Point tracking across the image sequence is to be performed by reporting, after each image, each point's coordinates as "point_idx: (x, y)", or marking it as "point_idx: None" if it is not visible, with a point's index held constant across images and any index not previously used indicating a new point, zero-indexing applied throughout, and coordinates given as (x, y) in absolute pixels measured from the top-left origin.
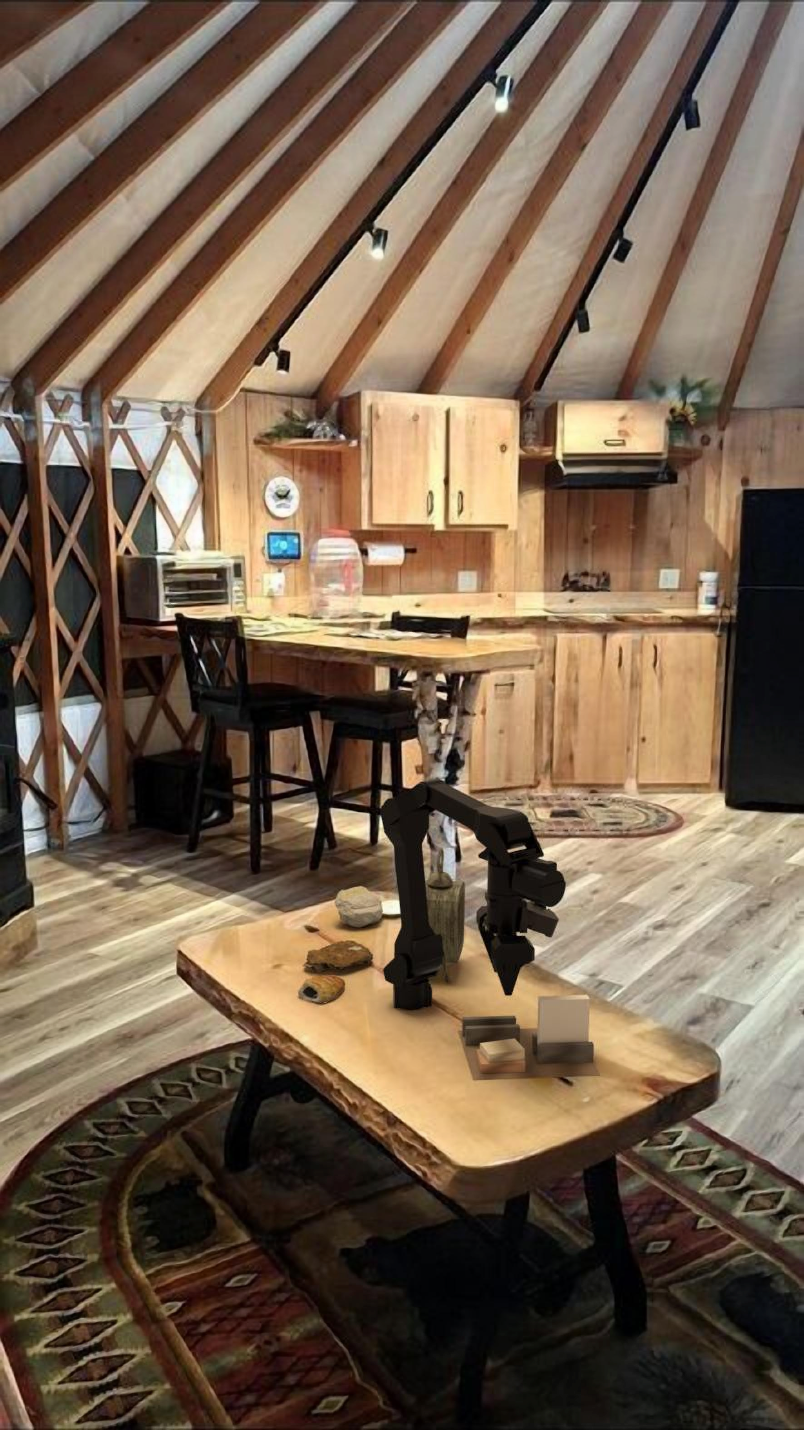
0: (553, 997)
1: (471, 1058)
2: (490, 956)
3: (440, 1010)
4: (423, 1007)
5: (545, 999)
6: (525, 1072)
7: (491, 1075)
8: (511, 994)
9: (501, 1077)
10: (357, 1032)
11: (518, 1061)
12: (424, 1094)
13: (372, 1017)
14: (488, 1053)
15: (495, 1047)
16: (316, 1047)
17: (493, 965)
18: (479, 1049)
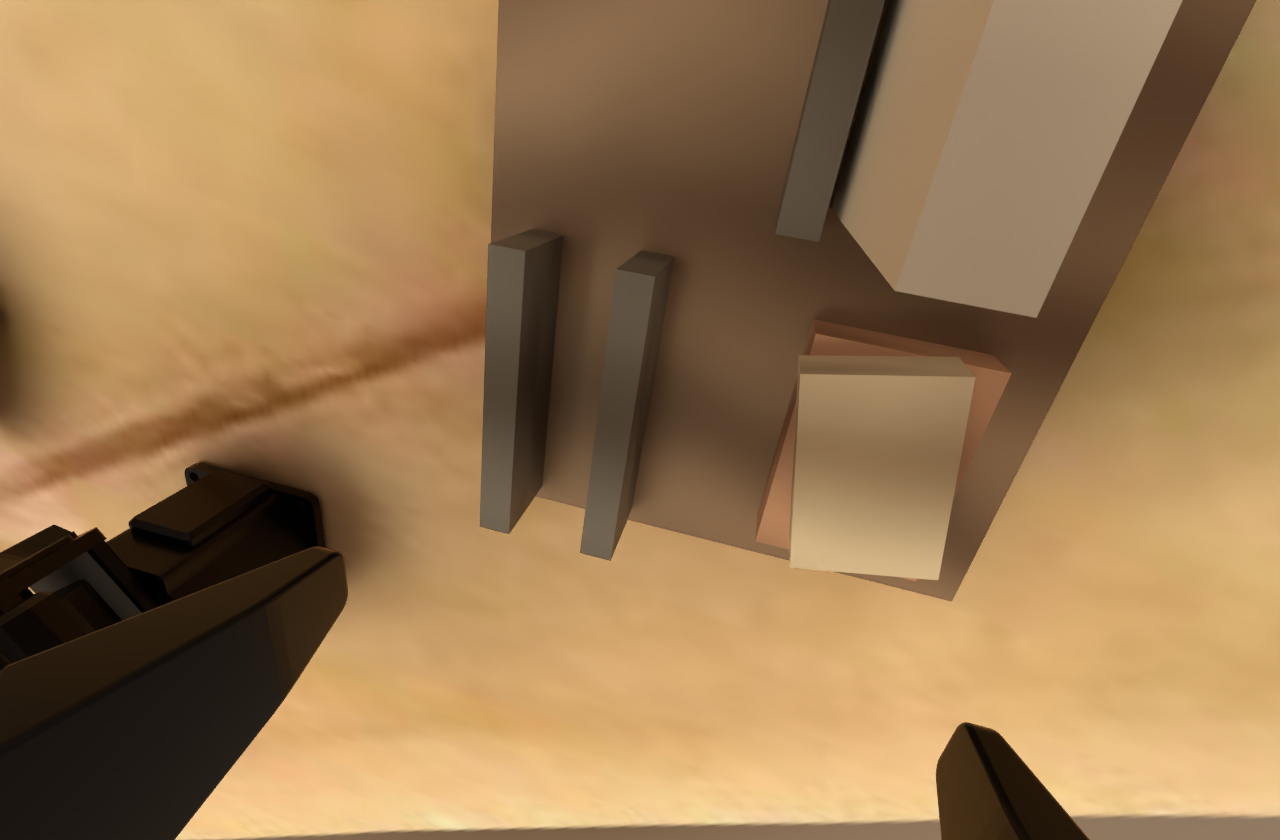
0: (1035, 72)
1: (754, 532)
2: (192, 804)
3: (247, 431)
4: (272, 526)
5: (1042, 234)
6: (1000, 355)
7: (950, 521)
8: (1004, 745)
9: (992, 489)
10: (420, 717)
11: (975, 403)
12: (896, 718)
13: (317, 649)
14: (922, 577)
15: (869, 519)
16: (504, 823)
17: (291, 678)
18: (761, 528)
